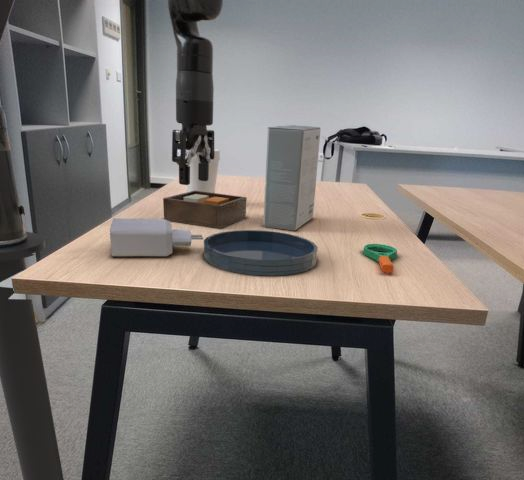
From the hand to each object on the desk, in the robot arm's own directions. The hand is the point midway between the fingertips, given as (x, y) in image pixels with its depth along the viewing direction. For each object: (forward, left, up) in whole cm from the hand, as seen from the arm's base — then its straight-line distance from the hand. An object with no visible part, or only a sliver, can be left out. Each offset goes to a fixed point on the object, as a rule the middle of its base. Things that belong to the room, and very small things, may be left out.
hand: (194, 182), depth 102 cm
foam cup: (-8, +17, -8) cm, 20 cm away
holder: (+2, +1, -8) cm, 8 cm away
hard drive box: (+19, +9, -8) cm, 23 cm away
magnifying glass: (+44, -11, -8) cm, 46 cm away
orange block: (+5, +1, -7) cm, 9 cm away
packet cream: (0, +1, -7) cm, 7 cm away
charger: (+8, -26, -8) cm, 29 cm away
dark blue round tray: (+24, -21, -8) cm, 33 cm away
